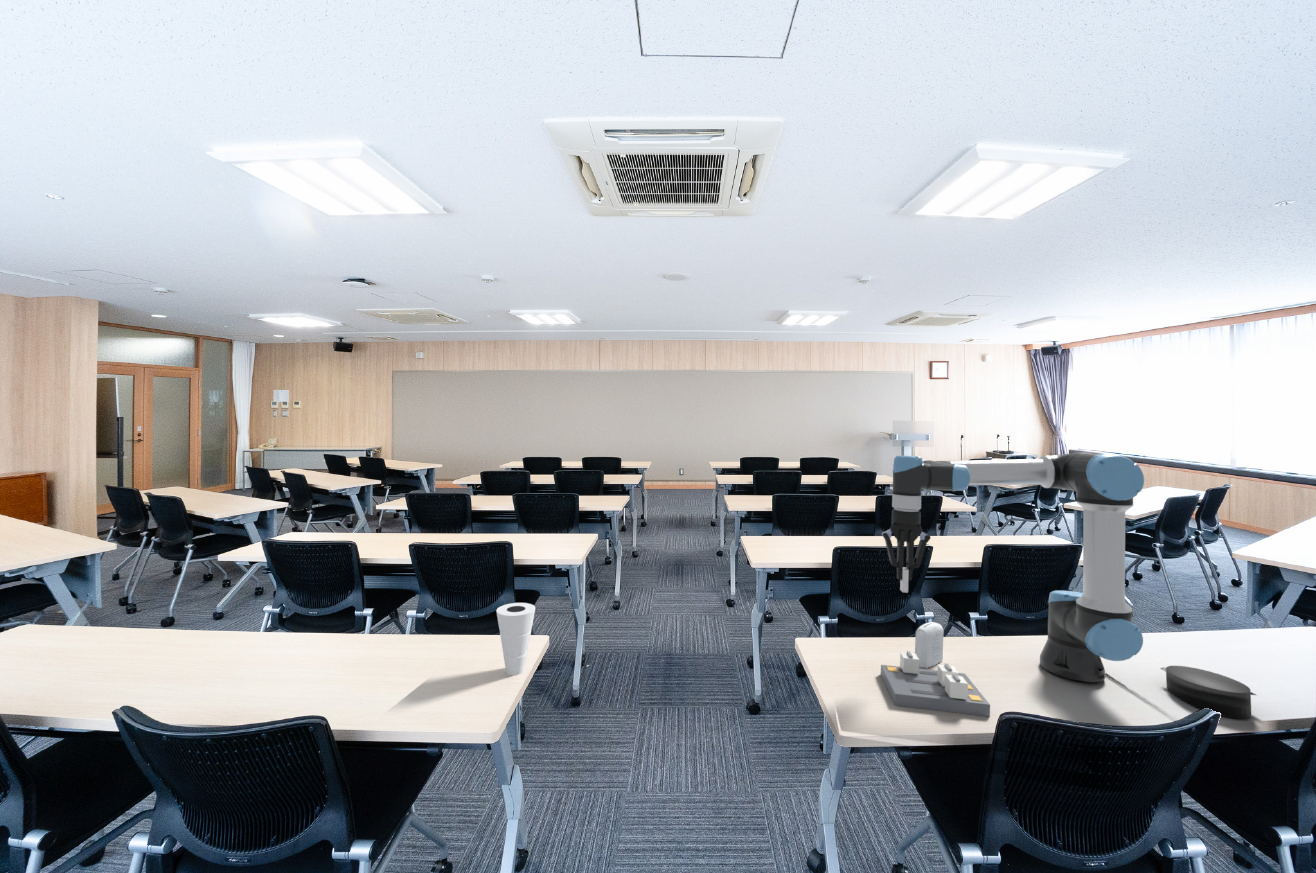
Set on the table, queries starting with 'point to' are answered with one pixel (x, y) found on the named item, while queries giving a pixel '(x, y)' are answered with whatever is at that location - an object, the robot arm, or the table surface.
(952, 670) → the slider mid
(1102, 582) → the robot arm
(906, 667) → the slider
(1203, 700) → the dark grey oval block
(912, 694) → the console
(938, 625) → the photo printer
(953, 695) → the slider
